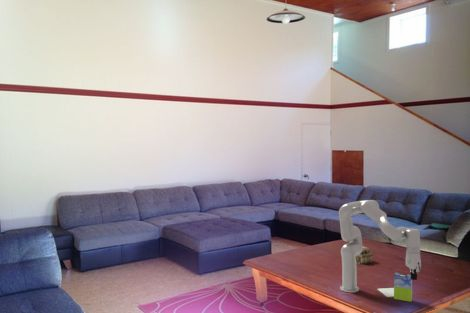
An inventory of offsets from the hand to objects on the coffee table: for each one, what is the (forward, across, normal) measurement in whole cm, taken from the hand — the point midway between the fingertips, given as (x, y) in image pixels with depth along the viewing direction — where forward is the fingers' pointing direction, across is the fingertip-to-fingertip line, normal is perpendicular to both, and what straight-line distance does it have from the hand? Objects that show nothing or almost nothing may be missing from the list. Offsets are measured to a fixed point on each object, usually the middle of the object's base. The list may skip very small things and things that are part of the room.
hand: (413, 279), depth 239 cm
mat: (+17, -25, 0) cm, 30 cm away
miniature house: (+16, -94, +6) cm, 96 cm away
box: (+17, -13, 0) cm, 21 cm away
